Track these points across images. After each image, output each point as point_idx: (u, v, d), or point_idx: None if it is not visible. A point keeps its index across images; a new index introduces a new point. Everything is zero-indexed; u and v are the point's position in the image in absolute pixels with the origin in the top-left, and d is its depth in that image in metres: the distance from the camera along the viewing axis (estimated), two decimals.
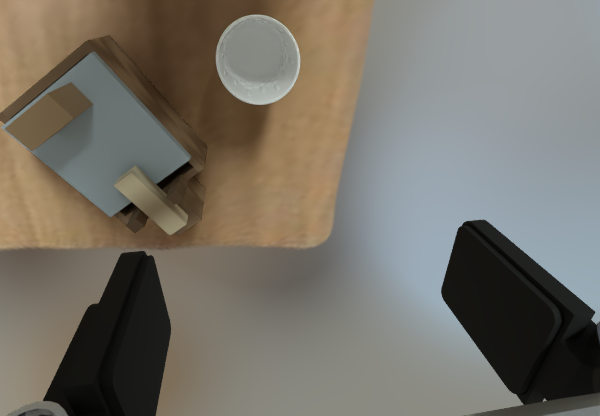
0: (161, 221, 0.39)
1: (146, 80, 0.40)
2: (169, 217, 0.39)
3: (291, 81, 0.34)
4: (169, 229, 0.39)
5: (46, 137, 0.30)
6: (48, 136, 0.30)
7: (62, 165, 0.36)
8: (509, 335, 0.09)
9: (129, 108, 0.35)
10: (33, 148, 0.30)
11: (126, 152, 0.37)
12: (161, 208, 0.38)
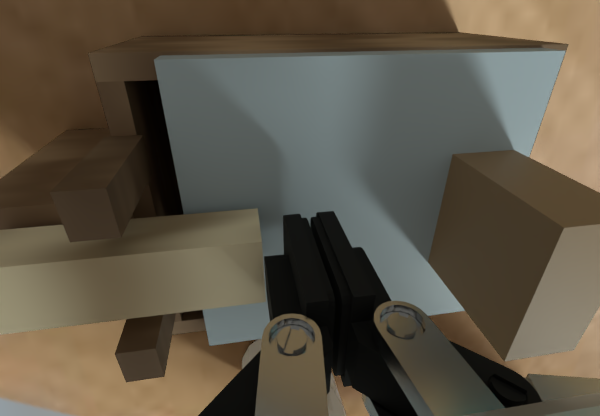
0: (45, 280, 0.10)
1: None
2: (51, 308, 0.10)
3: None
4: None
5: (541, 288, 0.09)
6: (537, 293, 0.10)
7: (394, 92, 0.11)
8: None
9: None
10: (562, 238, 0.09)
11: None
12: (102, 306, 0.10)
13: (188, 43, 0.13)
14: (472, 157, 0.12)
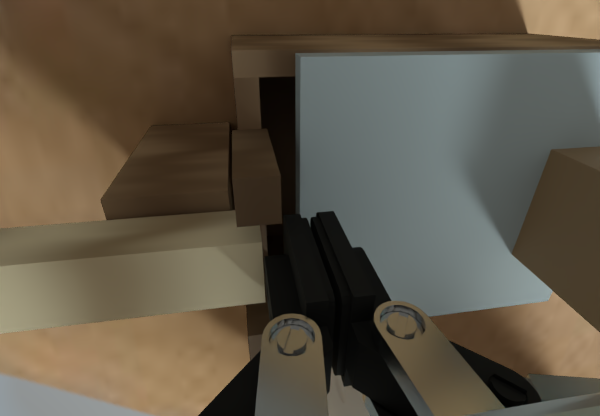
0: (44, 279, 0.10)
1: None
2: (50, 307, 0.10)
3: None
4: None
5: None
6: None
7: (509, 90, 0.12)
8: None
9: (454, 298, 0.17)
10: None
11: (406, 241, 0.14)
12: (101, 305, 0.10)
13: (298, 42, 0.13)
14: (572, 152, 0.13)
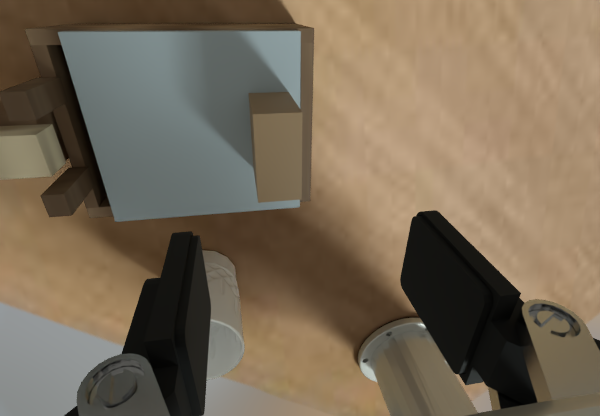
0: None
1: None
2: None
3: None
4: None
5: (257, 151, 0.18)
6: (257, 155, 0.18)
7: (200, 53, 0.20)
8: (452, 318, 0.09)
9: (223, 200, 0.25)
10: (255, 120, 0.17)
11: (170, 154, 0.23)
12: None
13: (92, 26, 0.22)
14: (257, 94, 0.21)
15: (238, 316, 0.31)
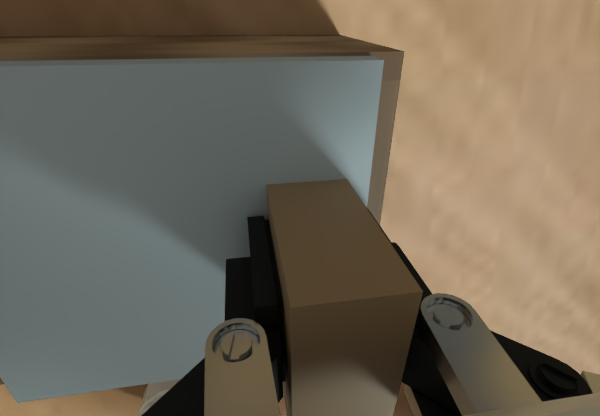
0: None
1: None
2: None
3: None
4: None
5: (298, 376, 0.07)
6: (296, 381, 0.07)
7: (162, 112, 0.09)
8: None
9: None
10: (296, 319, 0.06)
11: (111, 297, 0.12)
12: None
13: None
14: (286, 189, 0.10)
15: None
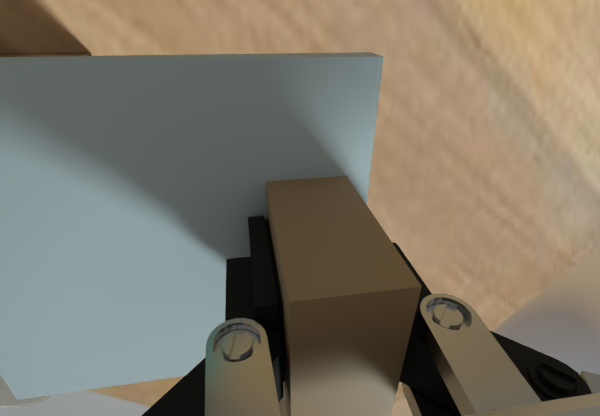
0: None
1: None
2: None
3: None
4: None
5: (296, 371, 0.07)
6: (295, 376, 0.07)
7: (162, 108, 0.09)
8: None
9: None
10: (295, 314, 0.06)
11: (111, 293, 0.12)
12: None
13: None
14: (285, 186, 0.10)
15: None
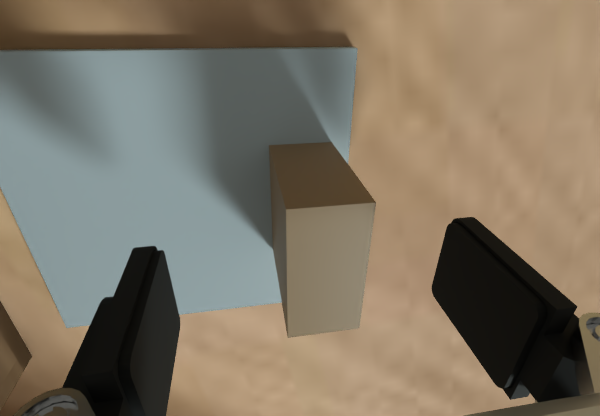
0: None
1: None
2: None
3: None
4: None
5: (291, 266, 0.10)
6: (290, 271, 0.10)
7: (192, 86, 0.12)
8: (495, 330, 0.09)
9: (228, 293, 0.17)
10: (289, 219, 0.09)
11: (146, 236, 0.15)
12: None
13: None
14: (283, 148, 0.13)
15: None
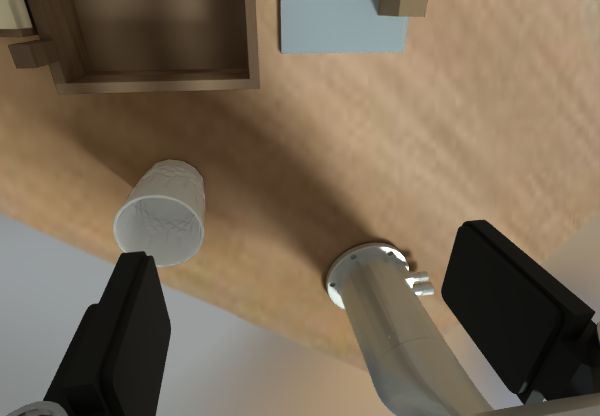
0: None
1: None
2: None
3: (126, 248, 0.33)
4: None
5: None
6: None
7: None
8: (509, 335, 0.09)
9: (354, 41, 0.36)
10: None
11: None
12: None
13: None
14: None
15: (199, 206, 0.34)
